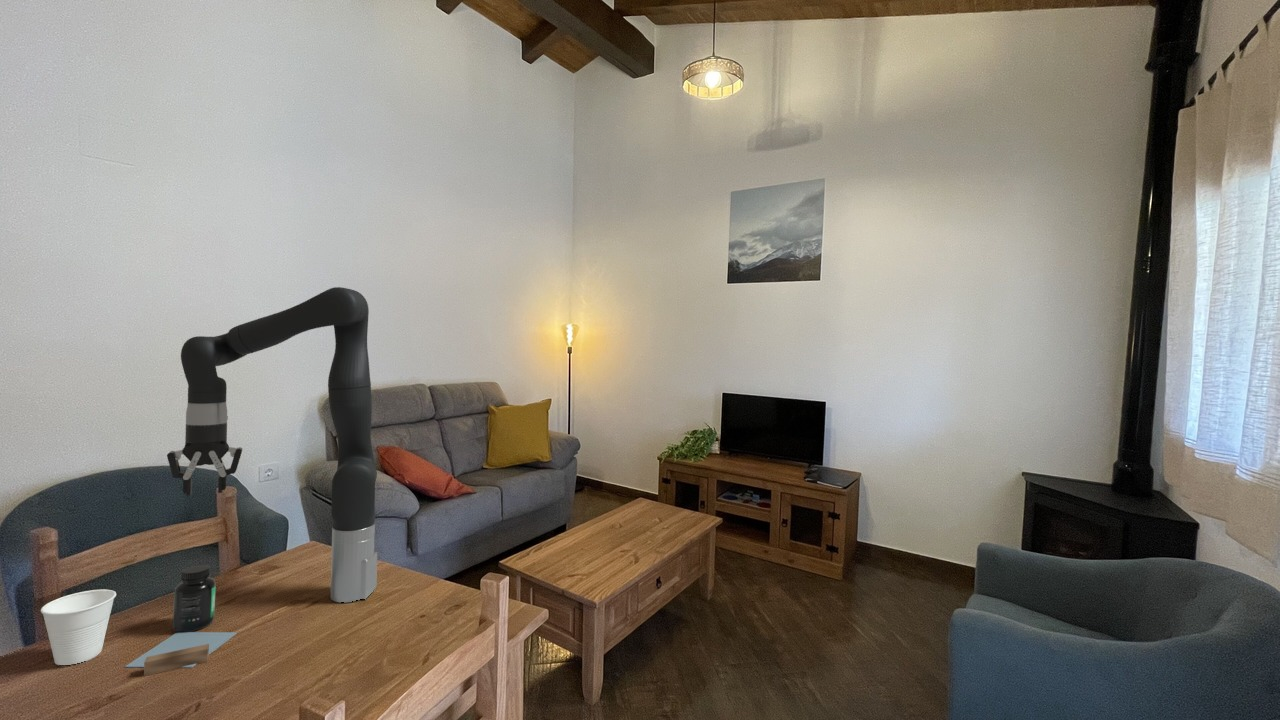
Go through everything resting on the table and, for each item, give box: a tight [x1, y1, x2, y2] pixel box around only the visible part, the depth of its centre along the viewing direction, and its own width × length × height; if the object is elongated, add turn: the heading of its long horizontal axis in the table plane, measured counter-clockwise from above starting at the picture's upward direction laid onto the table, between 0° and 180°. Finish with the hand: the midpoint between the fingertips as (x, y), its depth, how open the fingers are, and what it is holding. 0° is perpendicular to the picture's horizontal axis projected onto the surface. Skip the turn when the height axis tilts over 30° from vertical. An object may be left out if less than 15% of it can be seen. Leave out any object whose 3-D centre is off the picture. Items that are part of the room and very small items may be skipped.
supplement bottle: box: [172, 564, 217, 633], centre depth 114 cm, size 7×7×12 cm
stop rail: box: [143, 644, 210, 677], centre depth 99 cm, size 9×2×2 cm, turn 123°
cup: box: [40, 588, 117, 666], centre depth 101 cm, size 10×10×11 cm
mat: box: [124, 631, 238, 669], centre depth 105 cm, size 12×12×1 cm
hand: (205, 493), depth 124 cm, fingers open, 5 cm apart
